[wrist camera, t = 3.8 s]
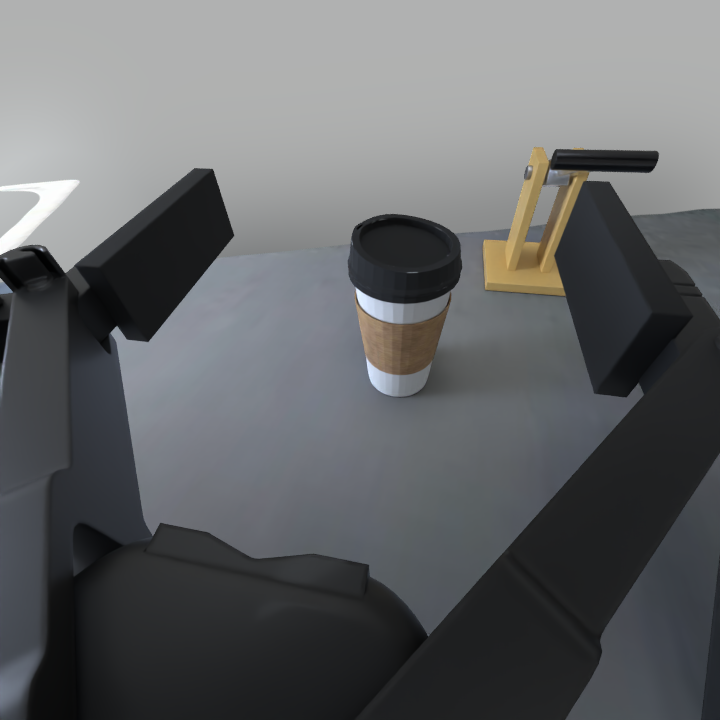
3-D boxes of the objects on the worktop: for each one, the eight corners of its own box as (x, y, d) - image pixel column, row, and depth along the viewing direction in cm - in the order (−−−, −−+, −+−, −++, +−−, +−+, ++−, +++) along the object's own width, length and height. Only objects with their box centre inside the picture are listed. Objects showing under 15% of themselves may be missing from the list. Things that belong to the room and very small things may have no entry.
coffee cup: (377, 335, 41) (376, 201, 30) (451, 358, 38) (480, 220, 27) (341, 389, 36) (323, 254, 25) (423, 421, 33) (444, 283, 22)
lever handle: (652, 179, 27) (663, 142, 26) (552, 176, 28) (560, 140, 28) (583, 187, 40) (589, 162, 39) (516, 185, 41) (520, 161, 40)
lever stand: (572, 296, 44) (629, 176, 34) (485, 290, 45) (515, 173, 35) (558, 251, 50) (602, 139, 40) (482, 247, 52) (507, 137, 42)
